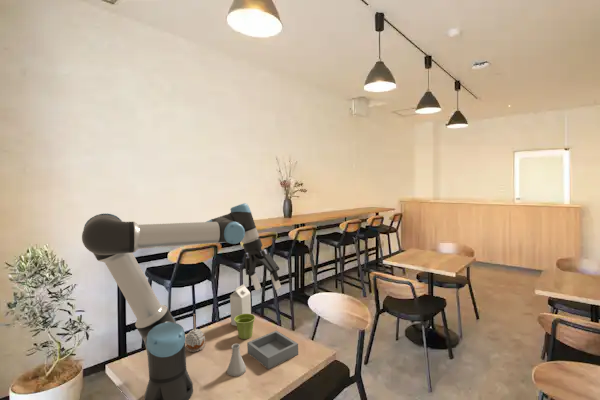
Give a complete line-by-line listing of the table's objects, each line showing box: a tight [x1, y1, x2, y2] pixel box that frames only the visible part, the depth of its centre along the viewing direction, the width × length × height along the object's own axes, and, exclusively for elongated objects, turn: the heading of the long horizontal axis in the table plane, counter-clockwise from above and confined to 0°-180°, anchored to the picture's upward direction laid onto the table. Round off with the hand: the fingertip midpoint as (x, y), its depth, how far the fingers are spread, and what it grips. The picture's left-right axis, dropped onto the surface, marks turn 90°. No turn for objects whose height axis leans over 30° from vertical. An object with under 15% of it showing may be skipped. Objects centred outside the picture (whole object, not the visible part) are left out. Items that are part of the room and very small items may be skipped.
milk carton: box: [229, 283, 252, 327], centre depth 159 cm, size 7×7×19 cm
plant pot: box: [234, 313, 256, 340], centre depth 148 cm, size 9×9×9 cm
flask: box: [226, 343, 247, 377], centre depth 122 cm, size 7×7×10 cm
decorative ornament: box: [185, 313, 206, 352], centre depth 138 cm, size 8×8×15 cm
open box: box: [246, 330, 299, 370], centre depth 133 cm, size 15×15×4 cm
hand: (268, 289), depth 133 cm, fingers open, 13 cm apart
